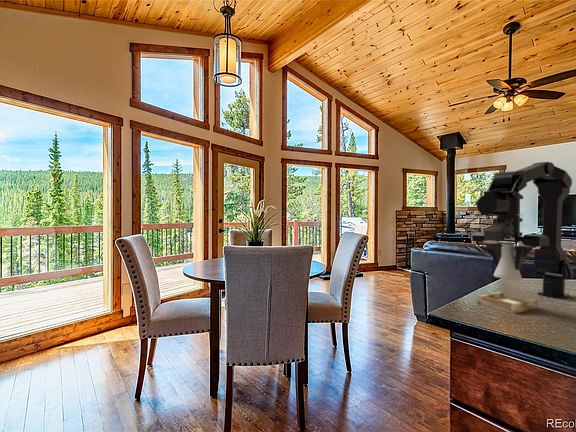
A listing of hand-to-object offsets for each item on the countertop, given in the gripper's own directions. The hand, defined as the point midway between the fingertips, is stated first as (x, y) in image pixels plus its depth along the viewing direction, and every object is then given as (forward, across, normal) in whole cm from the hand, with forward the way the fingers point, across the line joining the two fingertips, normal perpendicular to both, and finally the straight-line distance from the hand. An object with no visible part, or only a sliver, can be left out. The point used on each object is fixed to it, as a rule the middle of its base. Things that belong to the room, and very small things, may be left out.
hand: (507, 268), depth 98 cm
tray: (+11, 0, 0) cm, 11 cm away
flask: (+3, 0, 0) cm, 3 cm away
